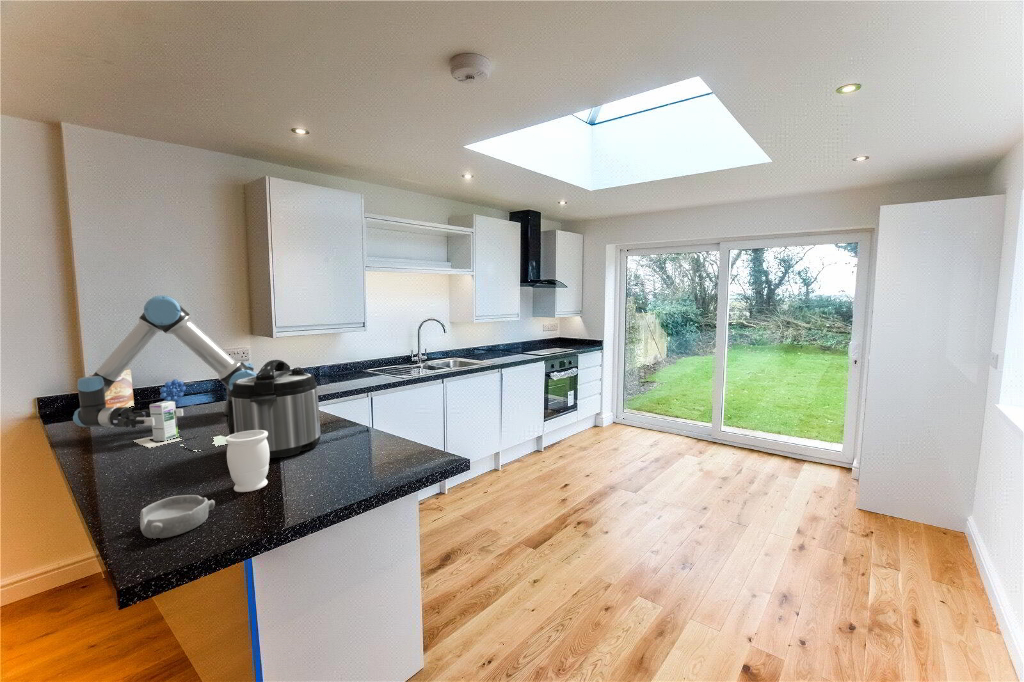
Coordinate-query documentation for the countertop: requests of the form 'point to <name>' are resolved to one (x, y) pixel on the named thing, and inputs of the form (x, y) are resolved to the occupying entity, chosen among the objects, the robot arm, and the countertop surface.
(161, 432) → the syrup box
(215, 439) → the mat
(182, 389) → the grapes
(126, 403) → the coffeecake box
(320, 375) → the countertop surface
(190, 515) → the dish
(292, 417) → the pressure cooker
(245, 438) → the jar
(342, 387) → the countertop surface
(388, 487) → the countertop surface
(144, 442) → the frame
